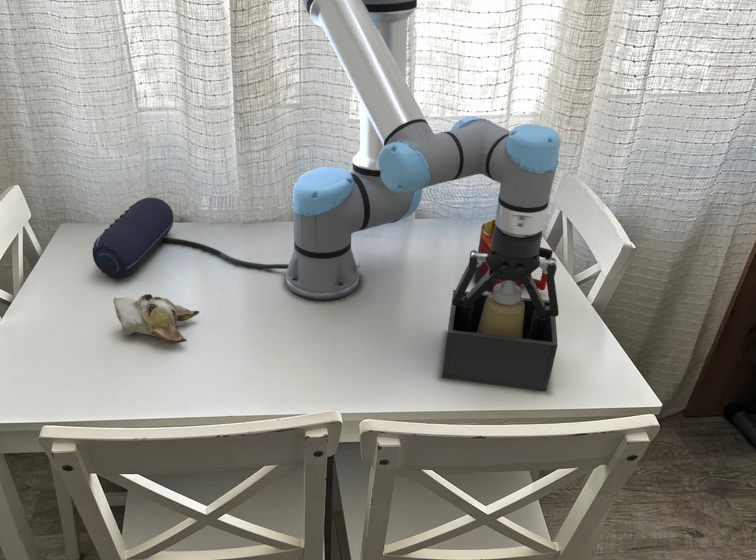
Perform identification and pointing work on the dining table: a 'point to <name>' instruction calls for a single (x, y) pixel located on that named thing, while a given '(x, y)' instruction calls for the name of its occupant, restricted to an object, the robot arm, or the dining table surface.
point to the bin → (500, 351)
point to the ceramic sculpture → (152, 317)
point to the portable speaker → (132, 237)
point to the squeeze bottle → (503, 311)
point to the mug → (485, 247)
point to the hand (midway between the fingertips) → (497, 341)
